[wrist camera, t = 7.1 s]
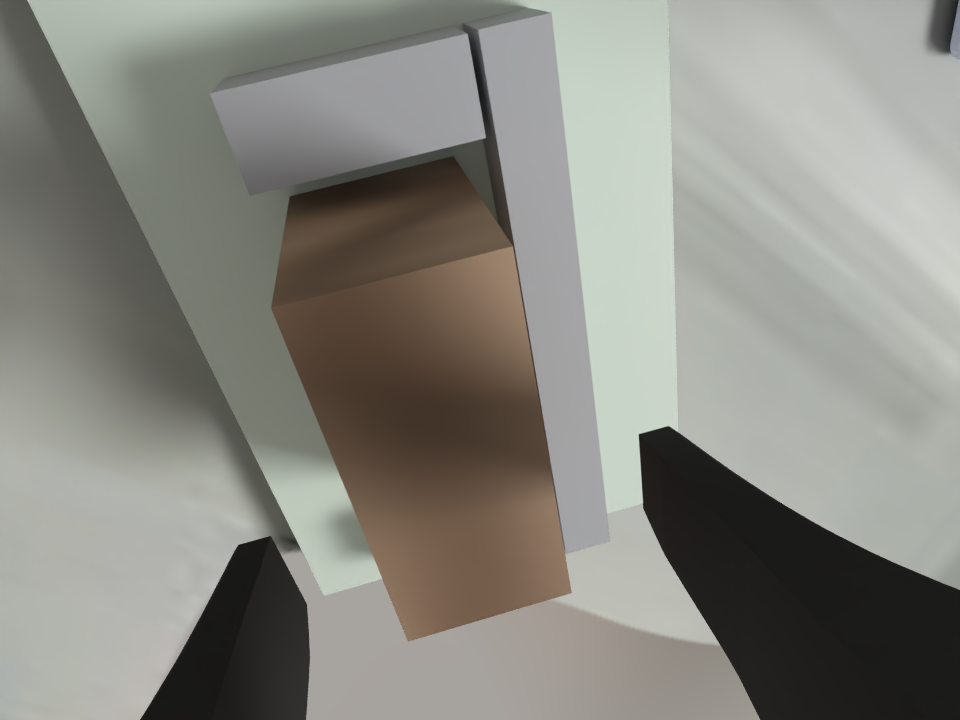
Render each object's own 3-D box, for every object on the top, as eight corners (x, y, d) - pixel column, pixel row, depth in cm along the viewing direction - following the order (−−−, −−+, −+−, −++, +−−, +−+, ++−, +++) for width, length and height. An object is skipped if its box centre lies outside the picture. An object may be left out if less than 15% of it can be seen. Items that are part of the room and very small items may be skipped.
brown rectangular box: (453, 155, 16) (512, 246, 11) (511, 439, 20) (571, 593, 15) (289, 196, 15) (269, 308, 10) (387, 473, 20) (407, 641, 15)
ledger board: (612, -845, 10) (722, -1158, 7) (665, 470, 24) (706, 533, 22) (-296, -720, 9) (-568, -1019, 6) (324, 568, 23) (323, 646, 21)
